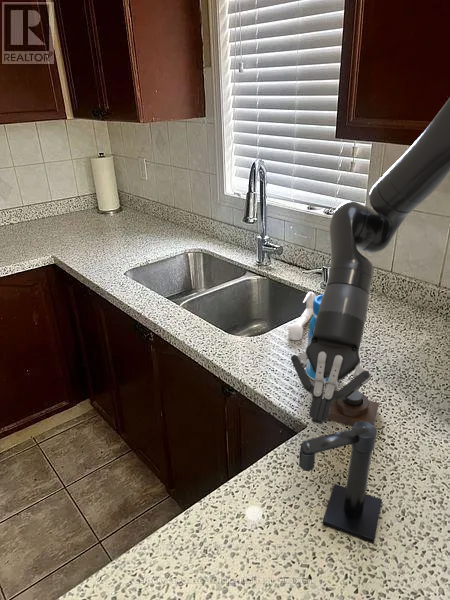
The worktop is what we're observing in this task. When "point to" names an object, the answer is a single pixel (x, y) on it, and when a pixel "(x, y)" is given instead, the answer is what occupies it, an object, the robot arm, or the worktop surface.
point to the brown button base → (354, 412)
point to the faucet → (302, 318)
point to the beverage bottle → (310, 334)
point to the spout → (338, 443)
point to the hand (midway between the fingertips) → (317, 423)
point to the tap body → (354, 502)
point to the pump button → (354, 399)
